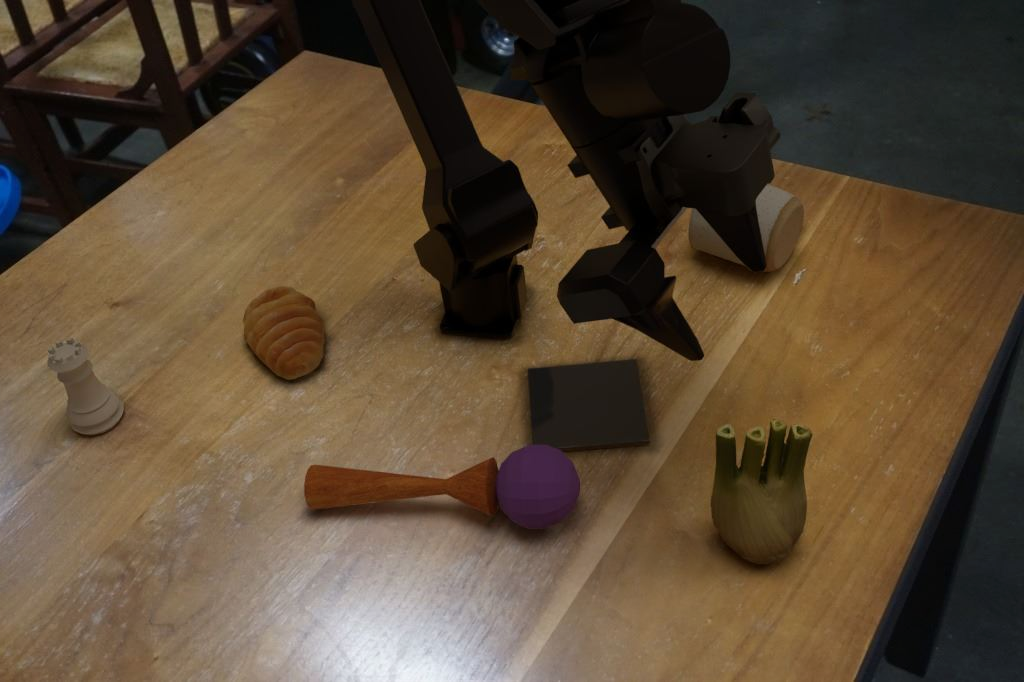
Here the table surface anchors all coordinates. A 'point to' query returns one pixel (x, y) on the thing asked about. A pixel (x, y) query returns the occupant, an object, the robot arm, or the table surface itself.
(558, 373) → the slate coaster
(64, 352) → the rook chess piece
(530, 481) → the kendama
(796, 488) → the fennel bulb
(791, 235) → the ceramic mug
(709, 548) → the table surface
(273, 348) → the pastry
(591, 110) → the robot arm
